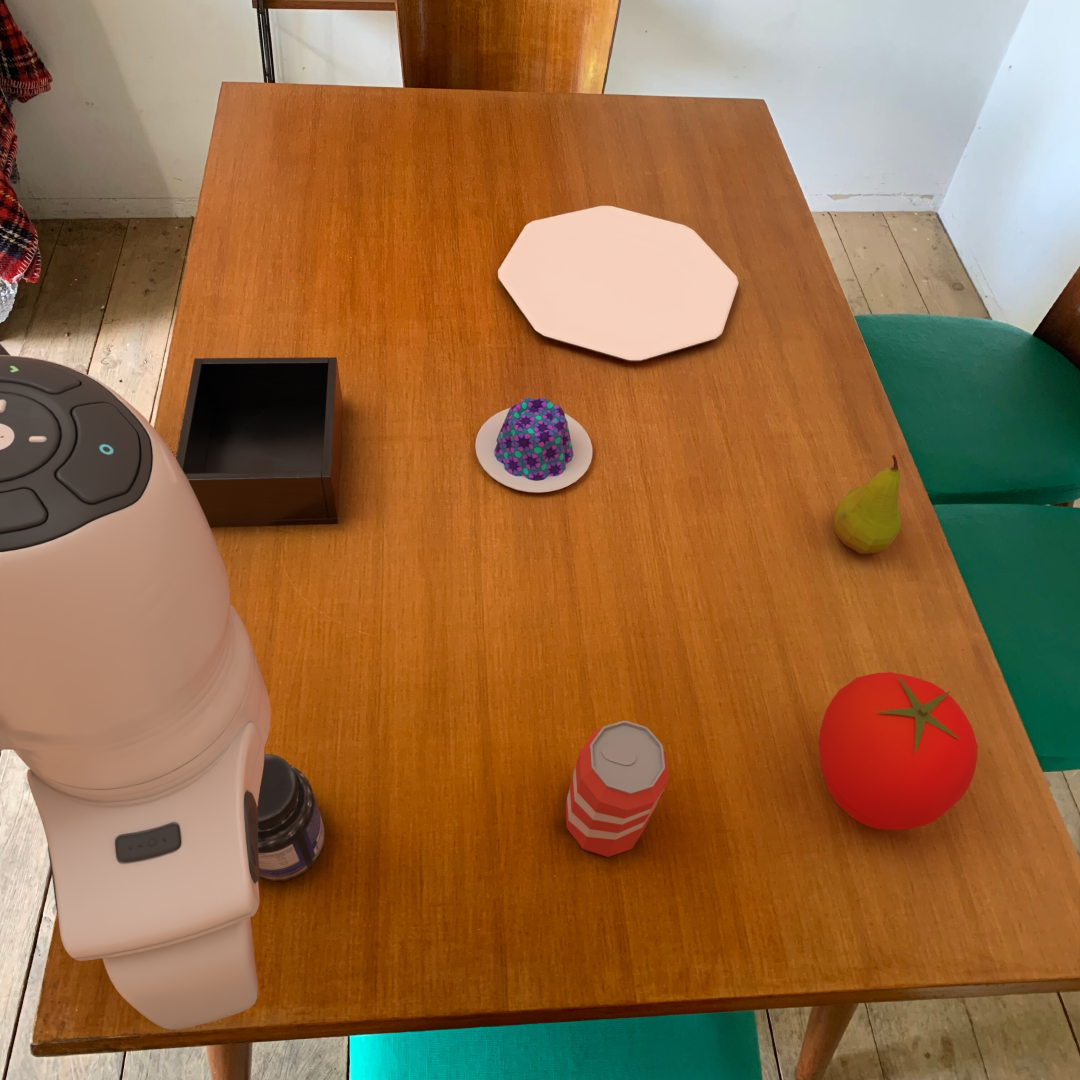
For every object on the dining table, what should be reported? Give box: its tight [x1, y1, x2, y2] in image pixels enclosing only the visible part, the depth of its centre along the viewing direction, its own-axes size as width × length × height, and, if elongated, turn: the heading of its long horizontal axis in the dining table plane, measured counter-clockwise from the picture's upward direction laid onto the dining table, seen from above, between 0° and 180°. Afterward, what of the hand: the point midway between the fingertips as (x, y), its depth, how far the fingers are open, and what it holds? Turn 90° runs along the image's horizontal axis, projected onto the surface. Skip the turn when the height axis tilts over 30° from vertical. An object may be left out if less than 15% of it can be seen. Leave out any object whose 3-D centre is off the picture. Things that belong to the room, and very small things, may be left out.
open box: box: [175, 356, 344, 528], centre depth 88 cm, size 14×16×7 cm
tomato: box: [818, 671, 978, 831], centre depth 70 cm, size 11×11×13 cm
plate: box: [497, 205, 740, 363], centre depth 111 cm, size 28×28×2 cm
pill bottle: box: [257, 753, 326, 882], centre depth 64 cm, size 6×6×11 cm
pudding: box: [474, 397, 593, 493], centre depth 92 cm, size 12×12×5 cm
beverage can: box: [565, 719, 670, 858], centre depth 67 cm, size 6×6×12 cm
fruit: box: [833, 454, 902, 555], centre depth 86 cm, size 6×6×12 cm
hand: (220, 831), depth 47 cm, fingers open, 8 cm apart
